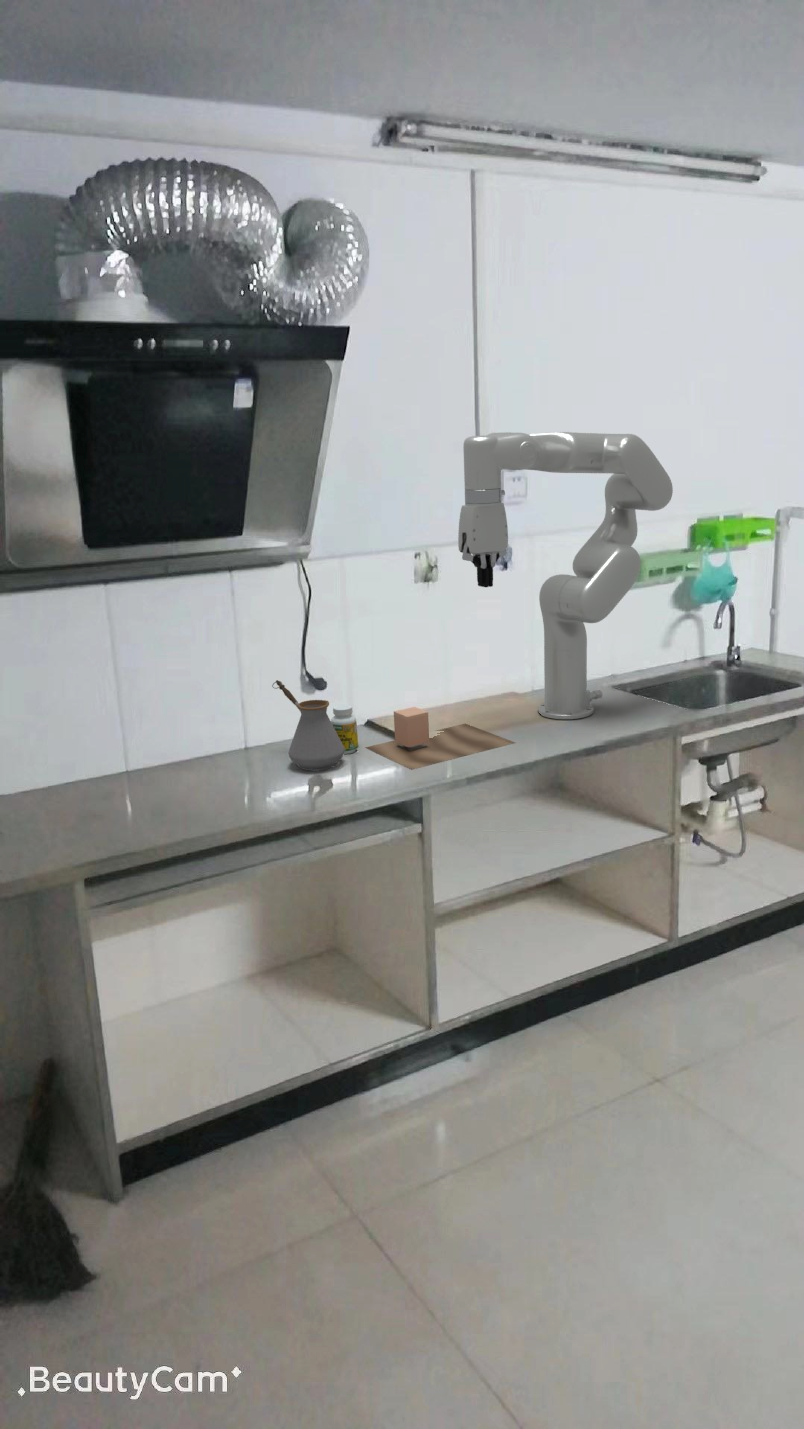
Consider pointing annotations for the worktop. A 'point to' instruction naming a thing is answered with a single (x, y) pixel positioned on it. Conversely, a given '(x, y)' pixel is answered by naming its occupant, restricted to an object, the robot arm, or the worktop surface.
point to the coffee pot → (313, 735)
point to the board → (442, 746)
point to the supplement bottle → (345, 727)
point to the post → (412, 747)
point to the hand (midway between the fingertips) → (485, 586)
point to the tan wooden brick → (411, 727)
